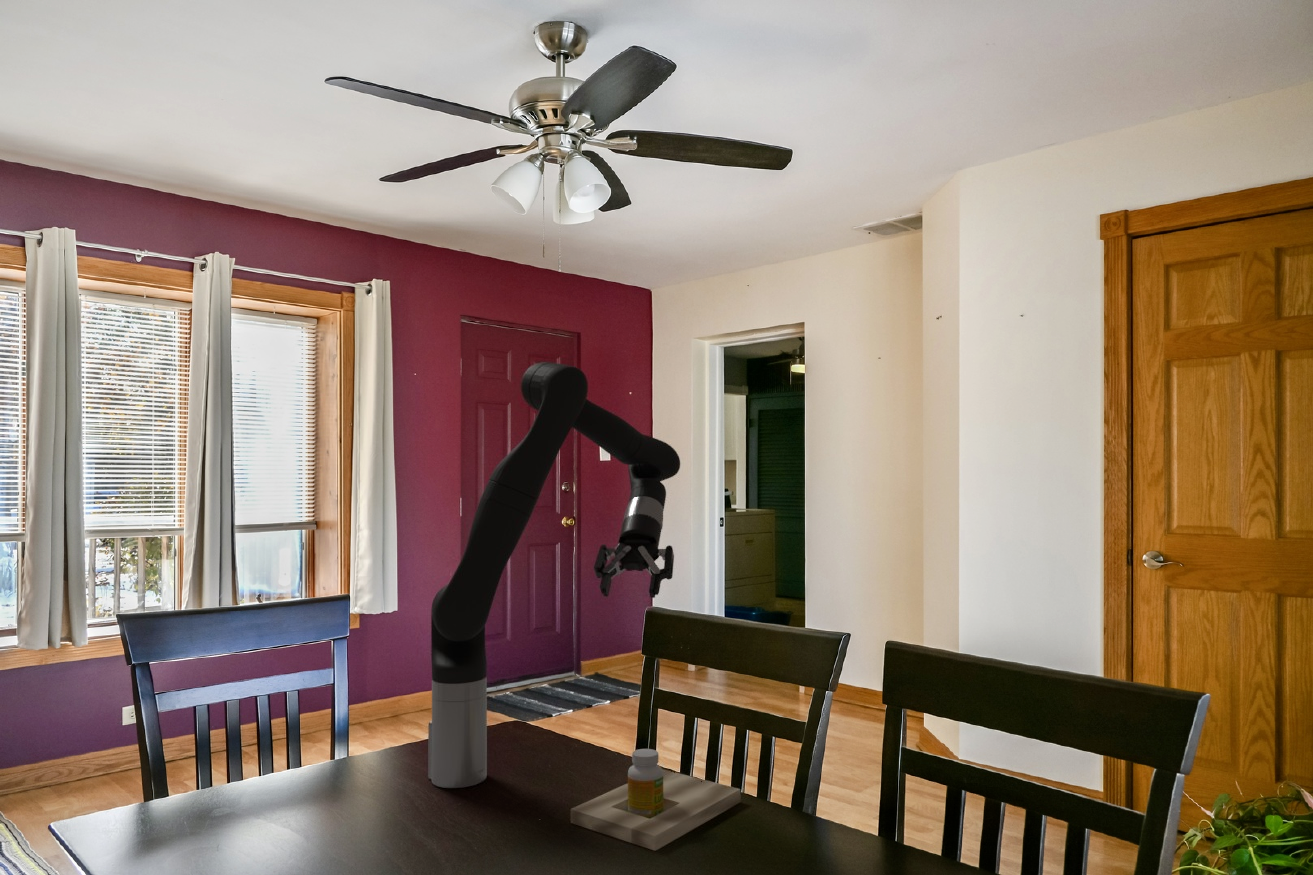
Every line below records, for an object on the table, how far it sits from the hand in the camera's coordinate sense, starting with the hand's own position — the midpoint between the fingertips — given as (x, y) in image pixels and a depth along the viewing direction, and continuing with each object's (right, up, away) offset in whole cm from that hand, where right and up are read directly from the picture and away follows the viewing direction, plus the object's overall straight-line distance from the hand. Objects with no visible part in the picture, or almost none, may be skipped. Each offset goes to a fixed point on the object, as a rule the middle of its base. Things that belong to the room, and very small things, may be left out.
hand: (628, 594), depth 151 cm
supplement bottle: (+3, -30, -22) cm, 37 cm away
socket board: (+5, -30, -20) cm, 36 cm away
